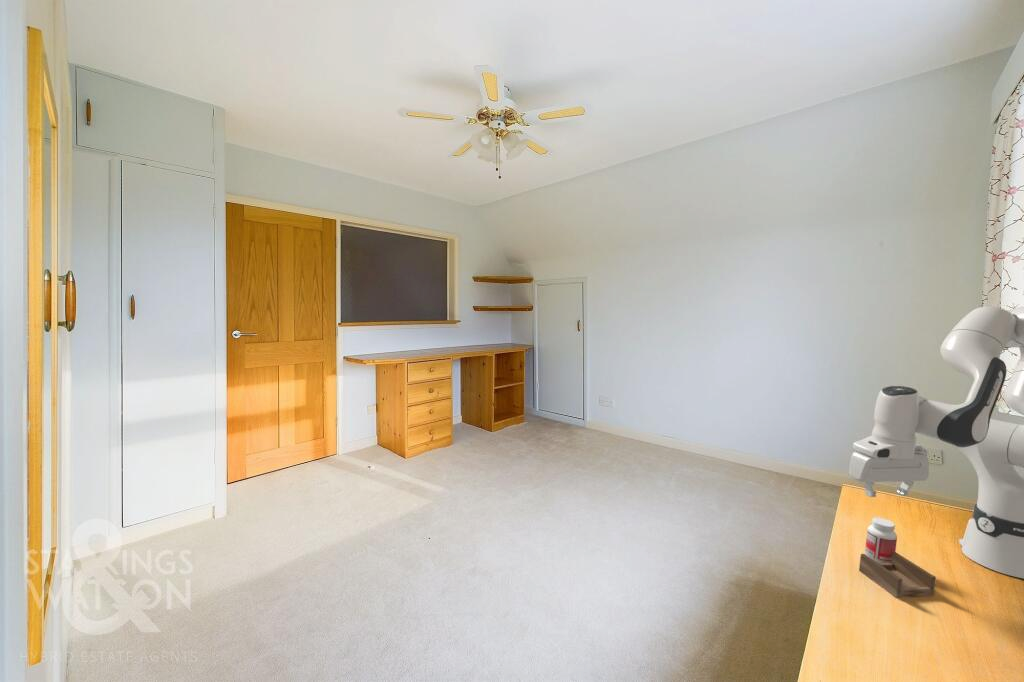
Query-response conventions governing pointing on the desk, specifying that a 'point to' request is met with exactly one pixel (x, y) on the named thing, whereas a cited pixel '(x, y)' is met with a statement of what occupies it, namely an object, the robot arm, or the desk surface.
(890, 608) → the desk surface
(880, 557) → the pill bottle
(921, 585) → the cradle
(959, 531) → the desk surface
